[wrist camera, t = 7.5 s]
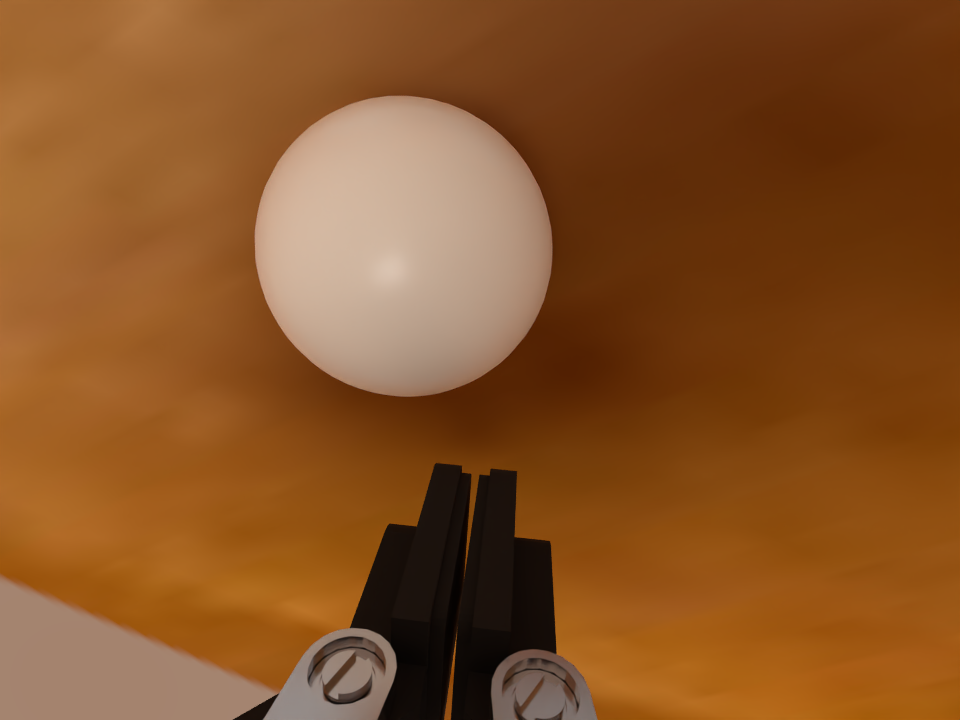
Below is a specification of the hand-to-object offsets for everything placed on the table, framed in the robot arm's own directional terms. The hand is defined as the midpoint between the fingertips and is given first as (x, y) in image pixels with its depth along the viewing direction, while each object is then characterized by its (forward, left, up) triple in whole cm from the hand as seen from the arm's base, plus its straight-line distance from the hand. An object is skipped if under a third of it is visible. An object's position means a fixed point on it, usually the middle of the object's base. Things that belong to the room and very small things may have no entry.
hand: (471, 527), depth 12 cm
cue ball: (+2, -5, -1) cm, 6 cm away
